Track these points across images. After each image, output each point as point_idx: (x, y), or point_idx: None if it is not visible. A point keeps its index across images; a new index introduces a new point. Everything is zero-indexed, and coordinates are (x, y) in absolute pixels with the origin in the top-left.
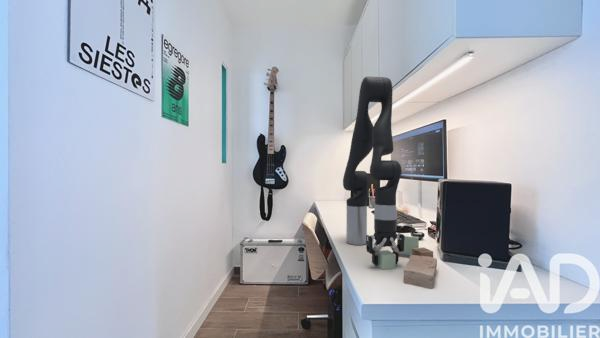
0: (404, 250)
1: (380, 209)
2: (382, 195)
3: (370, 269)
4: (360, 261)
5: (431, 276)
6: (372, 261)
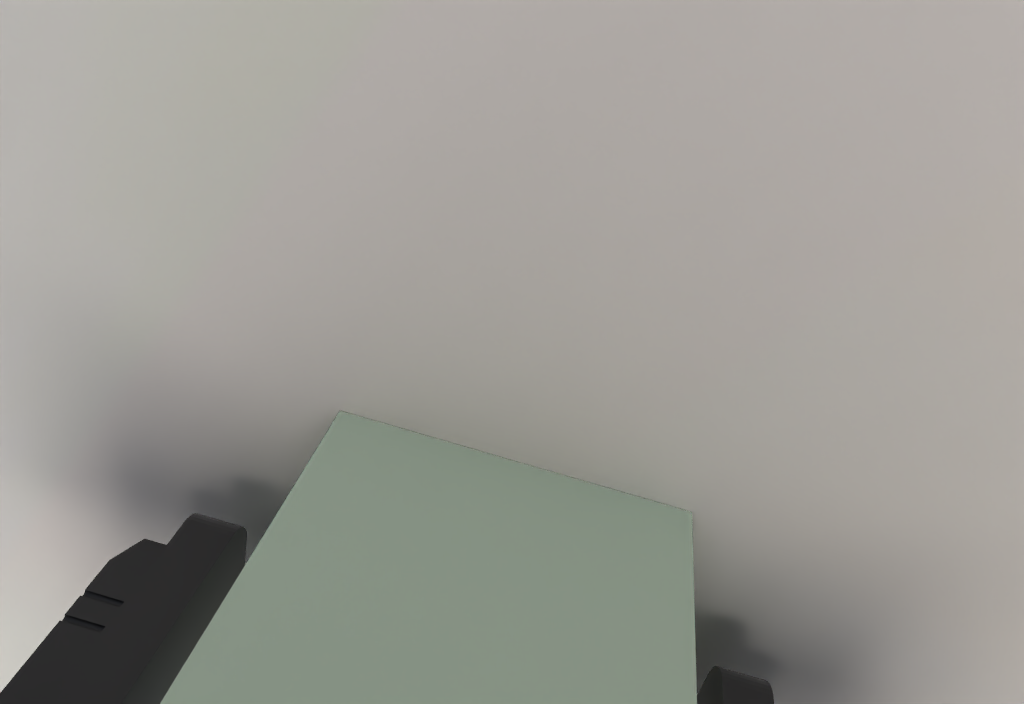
0: None
1: None
2: None
3: (91, 531)
4: (72, 31)
5: None
6: (103, 588)
